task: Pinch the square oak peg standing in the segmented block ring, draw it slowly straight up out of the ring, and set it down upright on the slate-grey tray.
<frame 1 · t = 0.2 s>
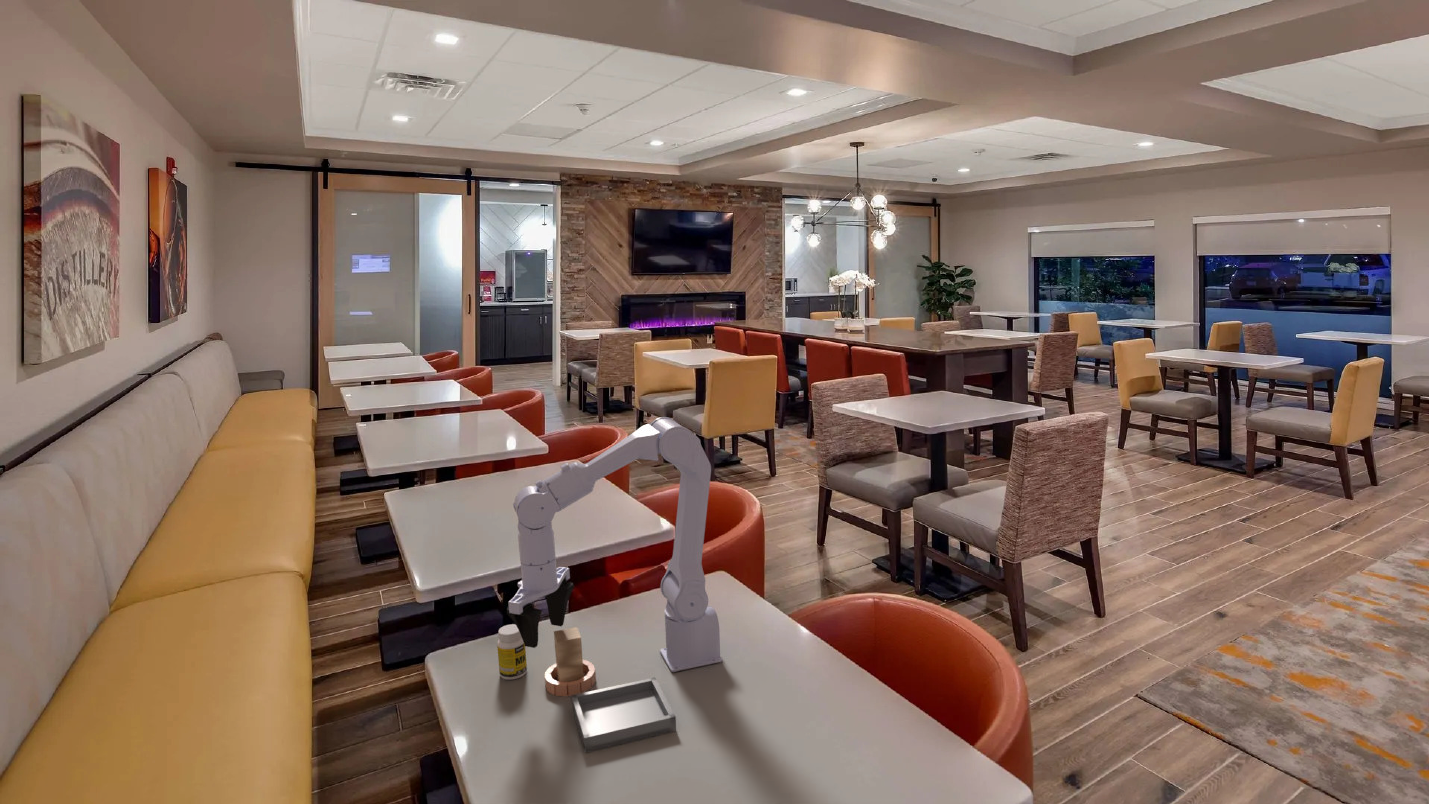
hand: (544, 635, 126), 10 cm above the table, tool pointing down, fingers open, 7 cm apart
oak peg: (569, 658, 128), in the segmented block ring
tray: (622, 719, 118), on the table
supplement bottle: (513, 674, 133), on the table
segmented block ring: (570, 682, 129), on the table
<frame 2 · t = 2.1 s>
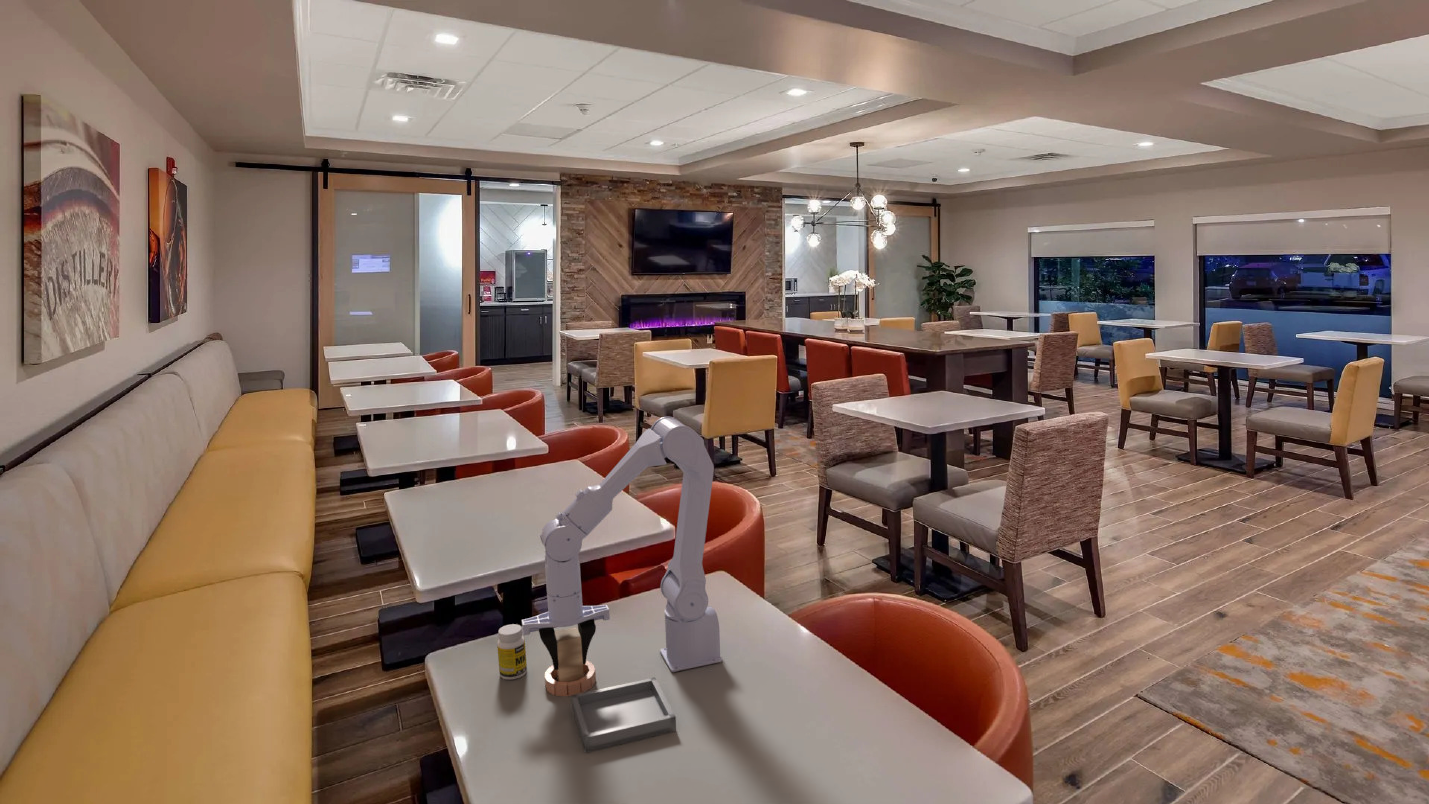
hand: (569, 664, 128), 3 cm above the table, tool pointing down, fingers closed on oak peg, 4 cm apart
oak peg: (569, 658, 128), in the segmented block ring, touching gripper
everything else where it was.
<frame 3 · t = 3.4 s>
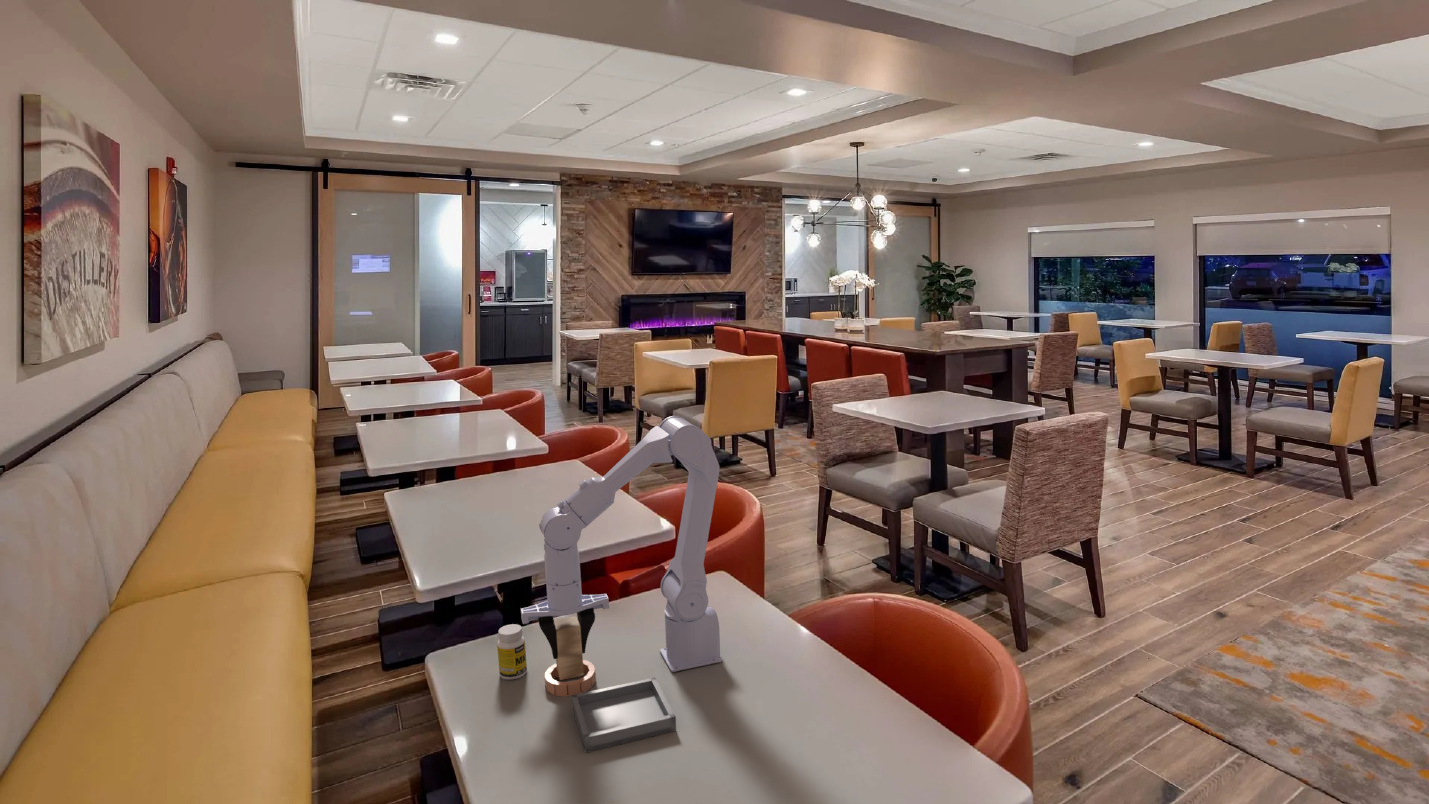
hand: (568, 653, 128), 5 cm above the table, tool pointing down, fingers closed on oak peg, 4 cm apart
oak peg: (568, 647, 128), point 6 cm above the table, touching gripper
everything else where it was.
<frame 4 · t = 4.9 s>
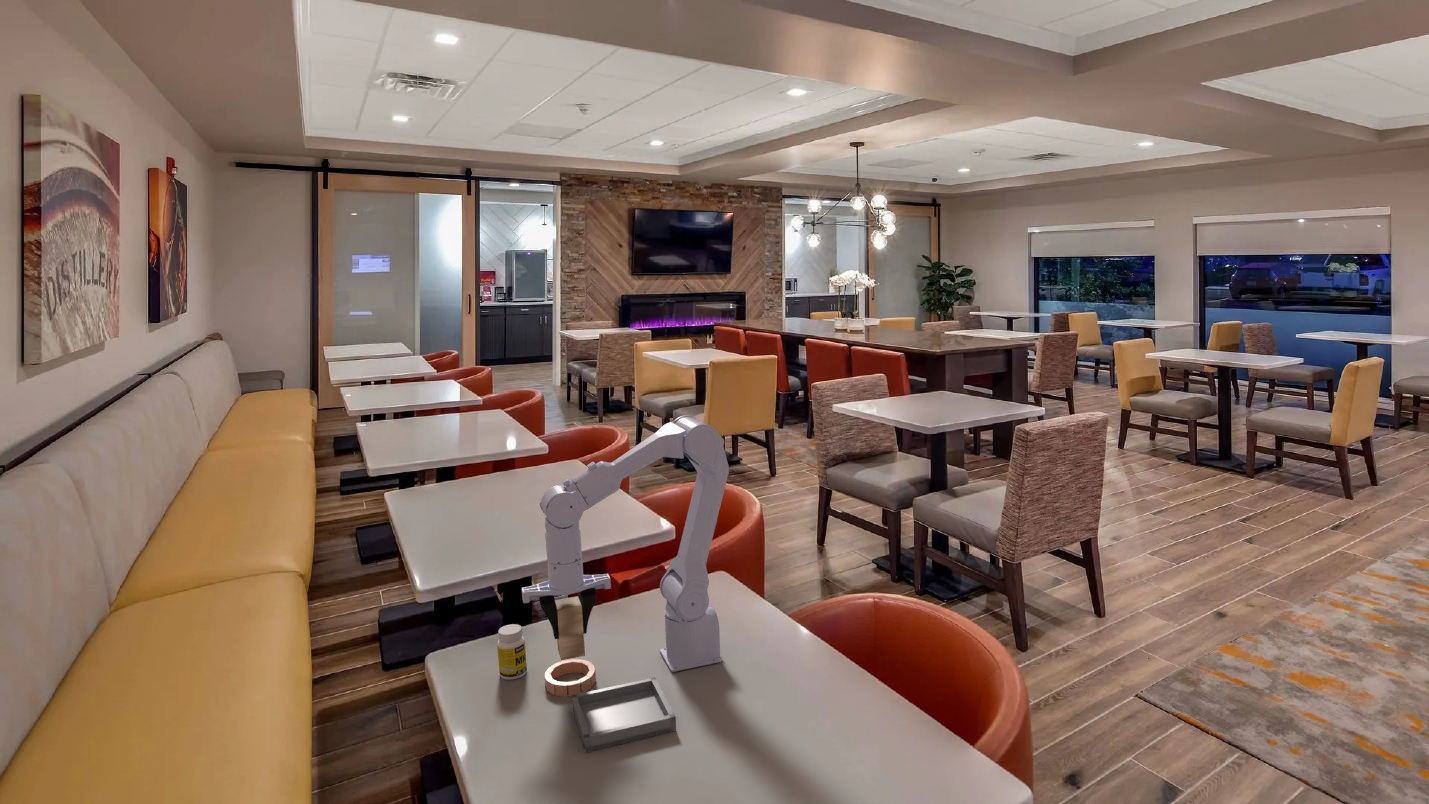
hand: (570, 633, 127), 9 cm above the table, tool pointing down, fingers closed on oak peg, 4 cm apart
oak peg: (569, 627, 127), point 10 cm above the table, touching gripper
everything else where it was.
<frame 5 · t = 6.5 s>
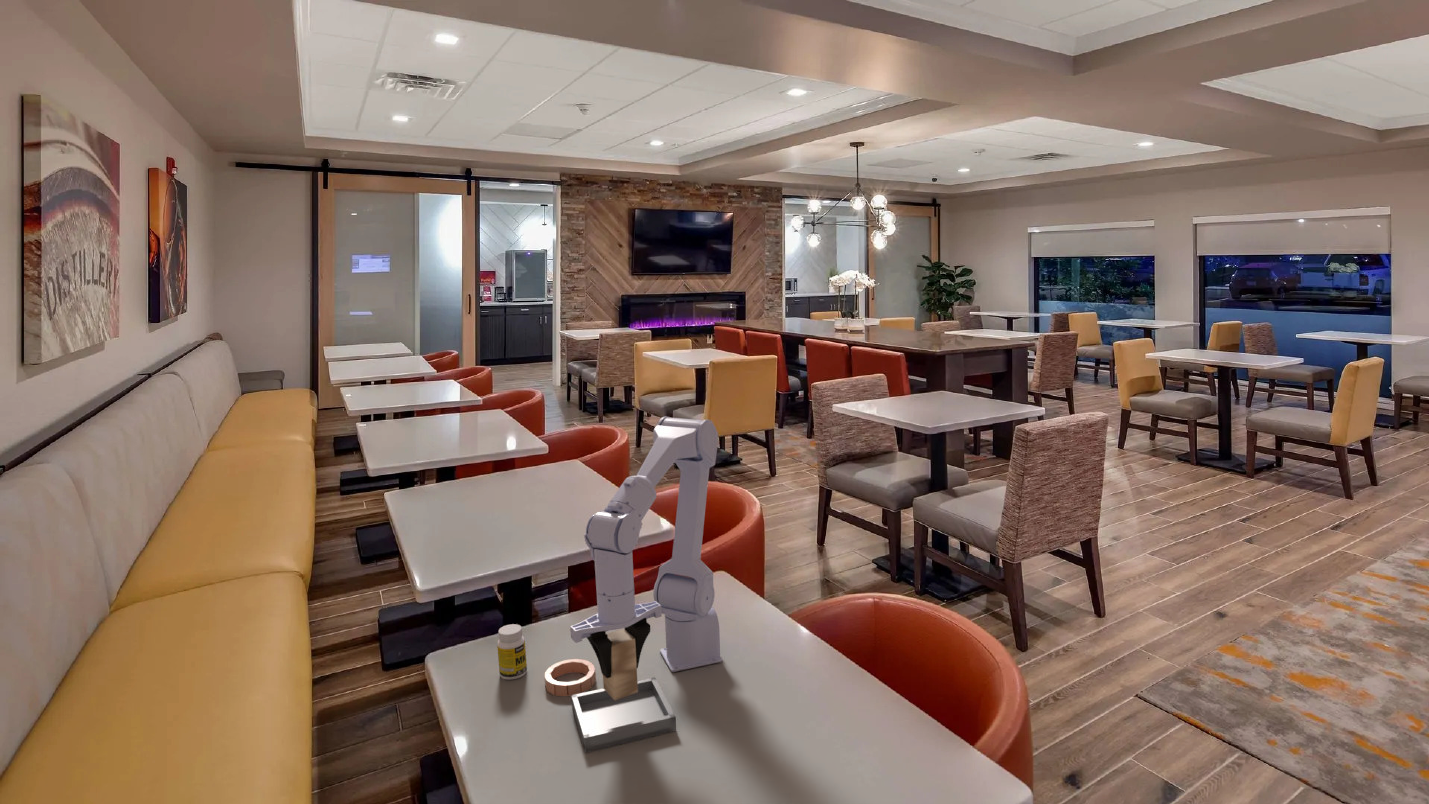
hand: (619, 670, 117), 8 cm above the table, tool pointing down, fingers closed on oak peg, 4 cm apart
oak peg: (619, 664, 116), point 10 cm above the table, touching gripper
everything else where it was.
when the fingers open (6 cm above the table, at t = 7.8 s): oak peg drops 1 cm, resting on tray.
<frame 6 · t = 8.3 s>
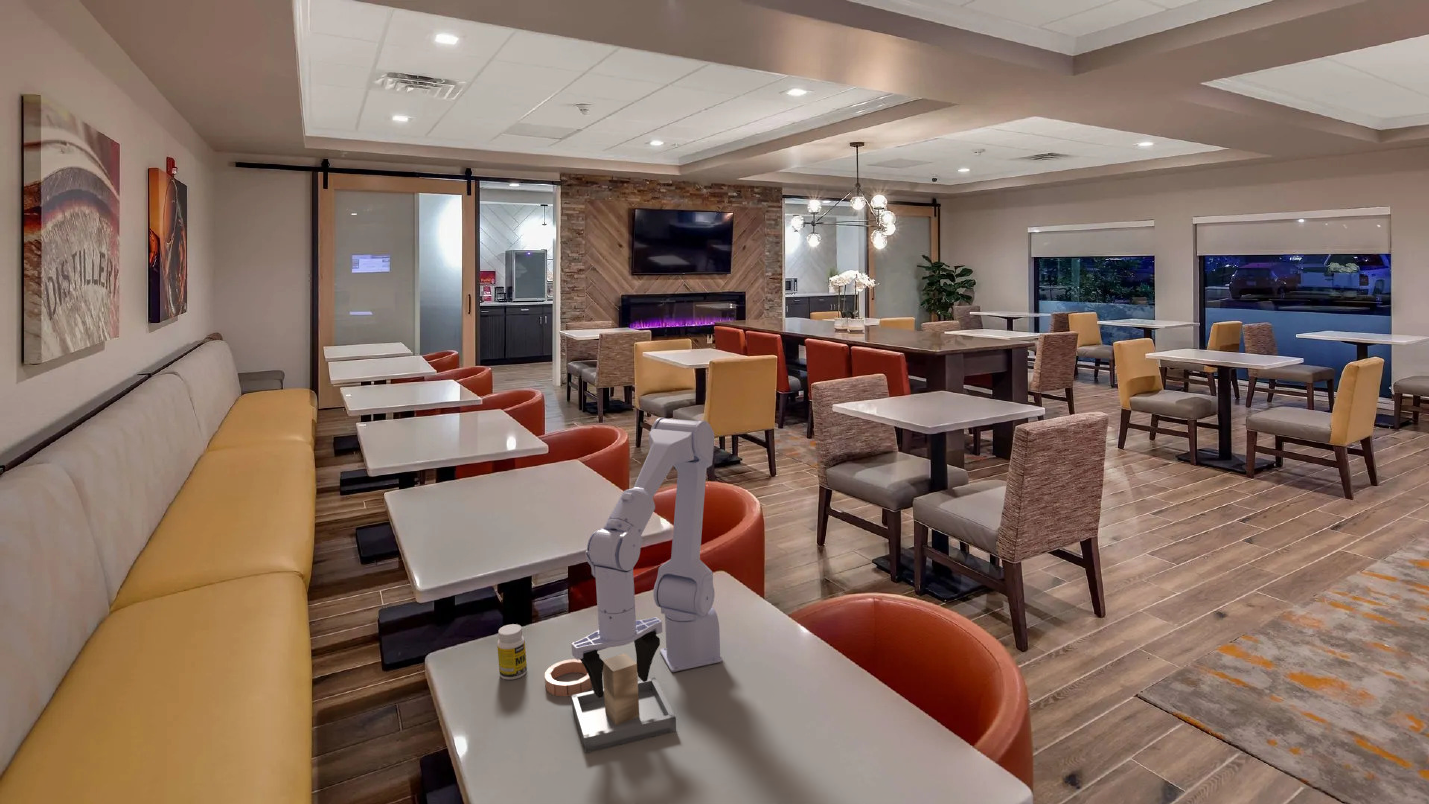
hand: (620, 686, 117), 6 cm above the table, tool pointing down, fingers open, 7 cm apart
oak peg: (620, 688, 117), in the tray, point 5 cm above the table
everything else where it was.
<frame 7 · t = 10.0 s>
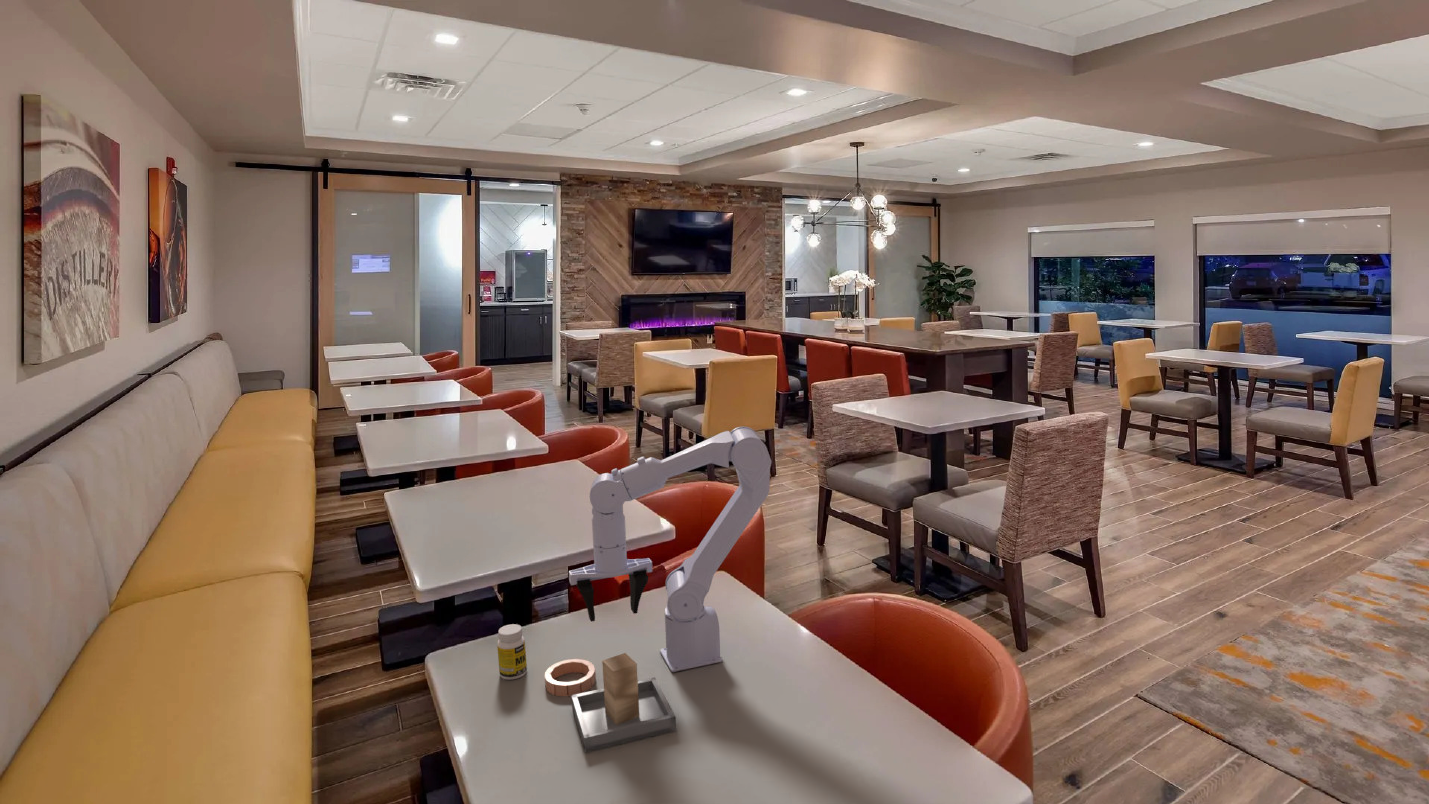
hand: (613, 615, 133), 9 cm above the table, tool pointing down, fingers open, 7 cm apart
nothing on the table moved.
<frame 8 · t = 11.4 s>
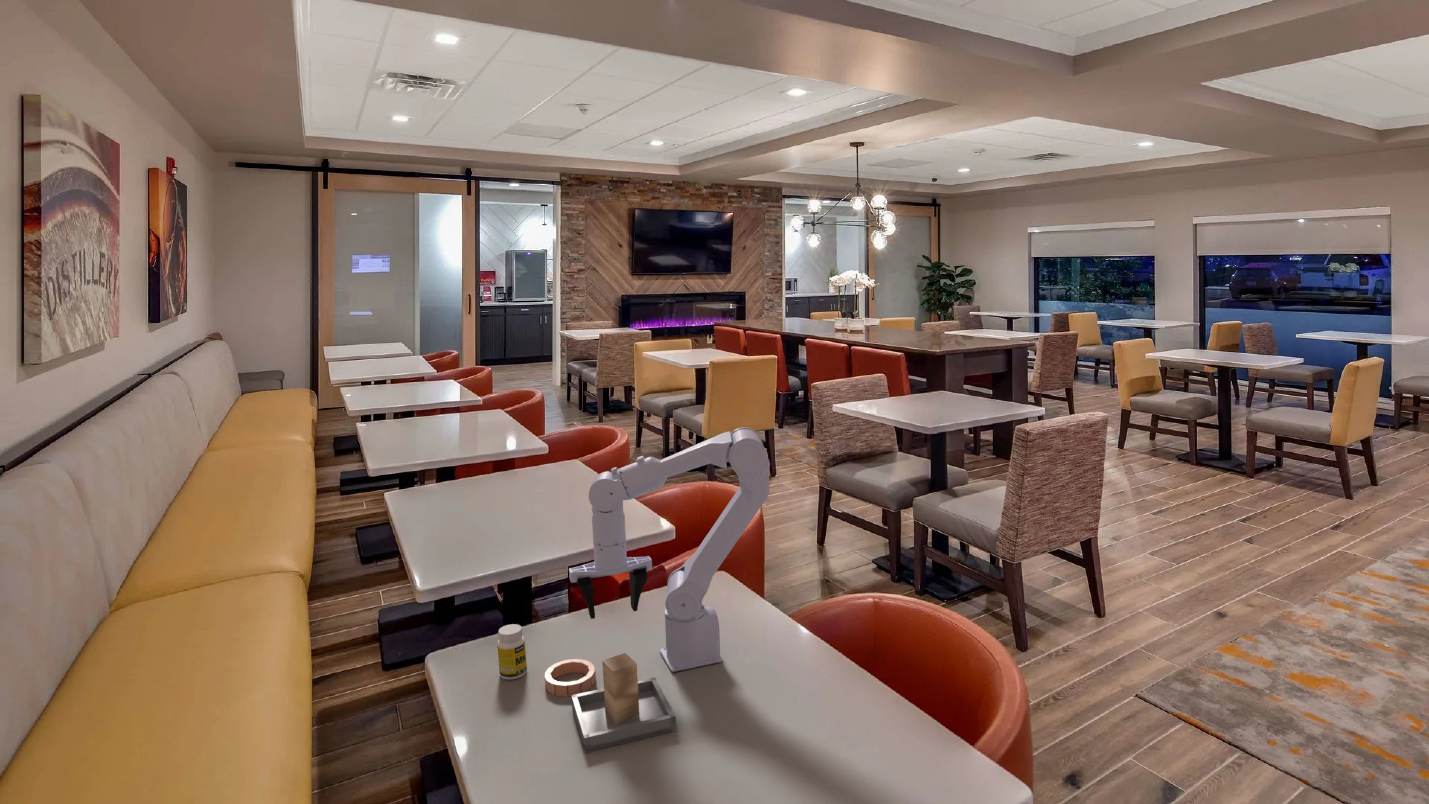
hand: (613, 612, 134), 9 cm above the table, tool pointing down, fingers open, 7 cm apart
nothing on the table moved.
at the end: oak peg inside the target area on the tray (0.1 cm from its centre), point 5.3 cm above the tray's base; oak peg tilted 0°; the gripper is holding nothing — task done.
